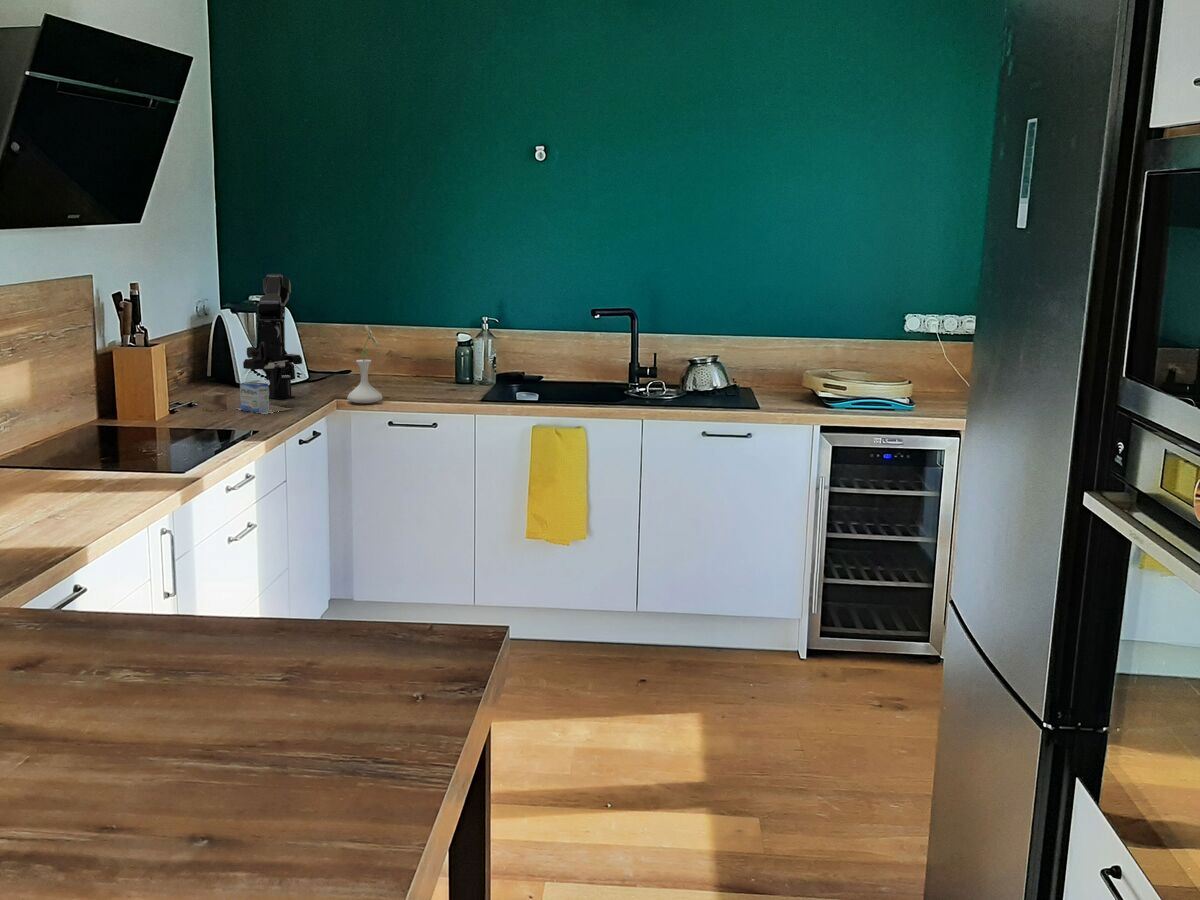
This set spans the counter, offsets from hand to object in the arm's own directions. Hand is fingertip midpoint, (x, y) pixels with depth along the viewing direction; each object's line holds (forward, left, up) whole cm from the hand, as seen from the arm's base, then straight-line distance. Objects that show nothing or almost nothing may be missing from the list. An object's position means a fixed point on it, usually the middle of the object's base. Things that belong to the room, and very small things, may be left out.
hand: (274, 388), depth 368 cm
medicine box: (+8, 0, -6) cm, 10 cm away
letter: (+4, 0, -6) cm, 7 cm away
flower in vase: (-25, +14, -6) cm, 30 cm away
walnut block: (+14, -12, -6) cm, 19 cm away
